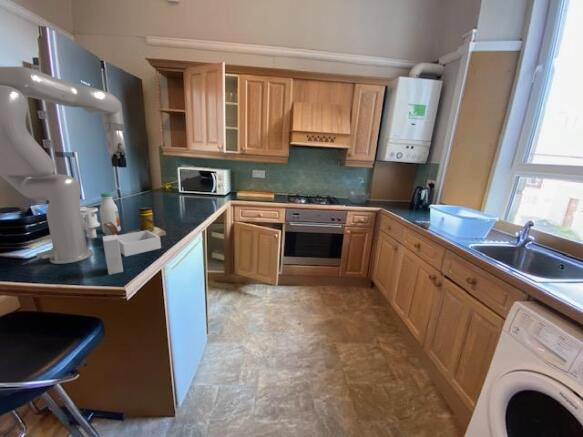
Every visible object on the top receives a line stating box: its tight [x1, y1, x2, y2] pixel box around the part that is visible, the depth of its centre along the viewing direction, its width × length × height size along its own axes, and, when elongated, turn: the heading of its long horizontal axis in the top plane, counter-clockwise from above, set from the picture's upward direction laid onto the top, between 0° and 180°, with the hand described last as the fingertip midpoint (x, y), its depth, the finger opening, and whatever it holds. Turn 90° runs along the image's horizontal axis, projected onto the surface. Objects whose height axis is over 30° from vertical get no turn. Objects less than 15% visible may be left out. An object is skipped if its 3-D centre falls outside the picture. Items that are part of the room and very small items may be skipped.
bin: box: [117, 230, 162, 257], centre depth 108 cm, size 14×15×5 cm
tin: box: [104, 222, 120, 236], centre depth 115 cm, size 15×3×8 cm, turn 47°
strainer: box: [80, 206, 101, 239], centre depth 119 cm, size 7×7×15 cm
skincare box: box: [101, 235, 124, 276], centre depth 86 cm, size 6×4×12 cm
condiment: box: [133, 206, 157, 233], centre depth 124 cm, size 7×8×12 cm
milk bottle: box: [99, 192, 122, 234], centre depth 128 cm, size 8×8×20 cm
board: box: [126, 226, 167, 237], centre depth 126 cm, size 14×11×2 cm
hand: (119, 166), depth 118 cm, fingers open, 9 cm apart
